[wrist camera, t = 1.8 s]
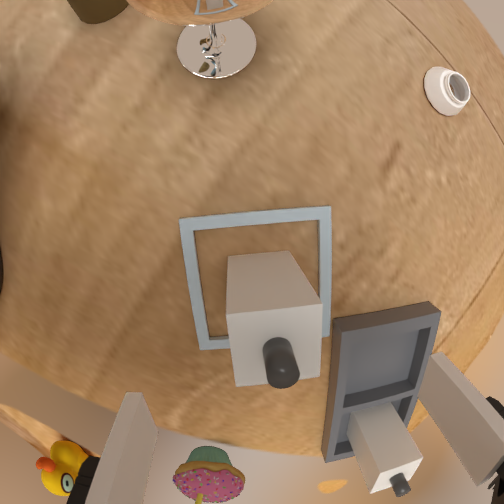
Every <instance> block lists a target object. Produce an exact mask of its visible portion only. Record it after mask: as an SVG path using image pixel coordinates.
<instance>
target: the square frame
mask: <svg viewBox="0 0 504 504" xmlns="http://www.w3.org/2000/svg"><path fill="white" fill-rule="evenodd" d="M306 220H318V274H319V286H318V297H319V298H320V300H321V302H322V303H323V312H322V337H328V336H330V316H331V280H332V228H331V206H329V205H325V206H309V207H295V208H282V209H269V210H257V211H245V212H234V213H224V214H214V215H204V216H194V217H185V218H180V219H179V226H180V233H181V241H182V248H183V255H184V262H185V268H186V275H187V281H188V287H189V293H190V299H191V305H192V310H193V316H194V321H195V327H196V332H197V337H198V342H199V347H200V350H211V349H225V348H230V342H229V336H217V337H210V336H209V330H208V324H207V318H206V312H205V306H204V299H203V293H202V286H201V279H200V273H199V265H198V258H197V251H196V243H195V235H194V230H204V229H214V228H224V227H235V226H246V225H257V224H269V223H281V222H293V221H306Z"/></svg>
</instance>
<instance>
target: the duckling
mask: <svg viewBox="0 0 504 504" xmlns="http://www.w3.org/2000/svg"><path fill="white" fill-rule="evenodd" d="M50 456H51V459H50V458H47V457H41V458H39V459H38V460H37V462H36V467H37V468H38V469H42V468H43V469H42V472H41V478H42V482H43V484H44V486H45V487H46V488H47V489H48V490H49V491H50V492H52V493H54V494H56V495H60V496H69V495H70V493H71V490H72V487H73V485H74V484H75V479H76V477H77V476H78V472H79V469H80V467H81V464H82V463H83V462H84V461H85V460H86V459H87V458H88V457H89V456H88V455H87V454H86V453H84V452H83V450H82V449H81V447H80V446H79V445H78V444H76V443H74V442H71V441H56V442H55V443H54V444H53V445H52V447H51V450H50Z"/></svg>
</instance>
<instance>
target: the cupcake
mask: <svg viewBox="0 0 504 504" xmlns="http://www.w3.org/2000/svg"><path fill="white" fill-rule="evenodd" d="M173 481H174V484H175V485H176V486H177V488H178V489H179V490H180V491H181V492H182V493H183V494H184V495H186V496H187V497H189V498H192V499H194V500H195V501H196V502H195V504H201V502H202V501H203V502H212V503H214V502H217V503H218V502H225V501H228V500H230V499H233V498H234V497H237V496H238V495H239V493H240V492H242V490H243V487H244V483H245V477H244V475H243V474H242V472H240V471H239V470H238V469H236V468H234V467H233V466H232V464H231V462H230V460H229V457H228V455H227V453H226V452H225V451H224V450H222V449H220V448H216V447H212V446H202V447H198V448H196V449H194V450H193V451H192V452H191V454H190V456H189V458H188V460H187V462H186V463H185V464H181V465H180V466H179V468H178V469H177V470H176V472H175V475H174V476H173Z"/></svg>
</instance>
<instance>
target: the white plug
mask: <svg viewBox="0 0 504 504" xmlns="http://www.w3.org/2000/svg"><path fill="white" fill-rule="evenodd" d="M346 434H347V436H348V439H349V441H350V444H351V446H352V449H353V452H354V454H355V457H356V459H357V462H358V464H359V467H360V469H361V472H362V474H363V477H364V479H365V482H366V485H367V488H368V490H369V493H374V492H377V491H380V490H383V489H386V488H389V487H393V490H394V492H395V494H396V496H397V497H401V496H403V495H405V494H407V493H408V492H409V491H410V490H411V488H410V486H409V485H408V482H407V481H408V480H410V478H411V477H412V475H413V474H414V472H415V471H416V469H417V467H418V465H419V464H420V462H421V461H422V459H423V456H422V454H421V452H420V451H419V449H418V447H417V445H416V444H415V442H414V440H413V438H412V437H411V435H410V433H409V432H408V430H407V428H406V427H405V425H404V423H403V422H402V420H401V418H400V417H399V415H398V413H397V412H396V410H395V408H394V407H393V405H392V403H391V402H389V403H385V404H382V405H378V406H374V407H371V408H367V409H363V410H359V411H354V412H351V414H350V419H349V424H348V429H347V433H346Z"/></svg>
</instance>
